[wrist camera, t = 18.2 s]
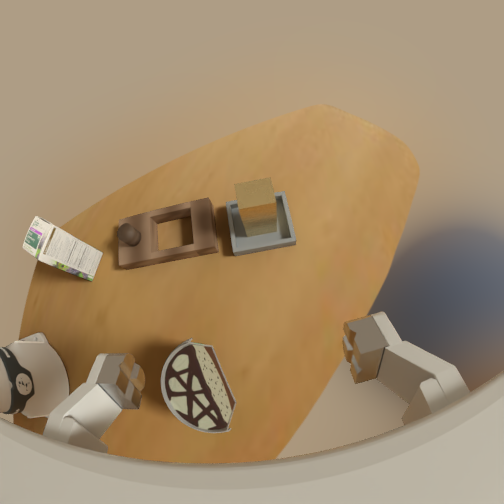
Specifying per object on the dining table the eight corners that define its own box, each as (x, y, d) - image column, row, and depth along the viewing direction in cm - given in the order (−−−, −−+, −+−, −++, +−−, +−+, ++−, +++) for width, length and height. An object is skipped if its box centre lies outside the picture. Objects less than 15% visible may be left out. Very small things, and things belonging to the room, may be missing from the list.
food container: (172, 349, 38) (141, 353, 28) (208, 336, 38) (186, 337, 29) (203, 421, 34) (181, 445, 25) (240, 410, 35) (228, 435, 25)
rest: (235, 256, 41) (233, 252, 39) (228, 207, 43) (225, 202, 42) (295, 244, 41) (296, 240, 39) (284, 197, 43) (284, 191, 41)
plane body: (127, 269, 42) (108, 260, 36) (127, 226, 44) (109, 212, 39) (218, 252, 41) (209, 239, 36) (212, 205, 44) (203, 188, 38)
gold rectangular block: (247, 237, 41) (238, 209, 32) (244, 216, 42) (234, 184, 33) (277, 231, 41) (276, 202, 31) (272, 210, 42) (270, 177, 32)
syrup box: (74, 271, 43) (20, 249, 29) (85, 242, 45) (34, 214, 31) (92, 281, 42) (36, 261, 28) (104, 251, 44) (51, 222, 30)
